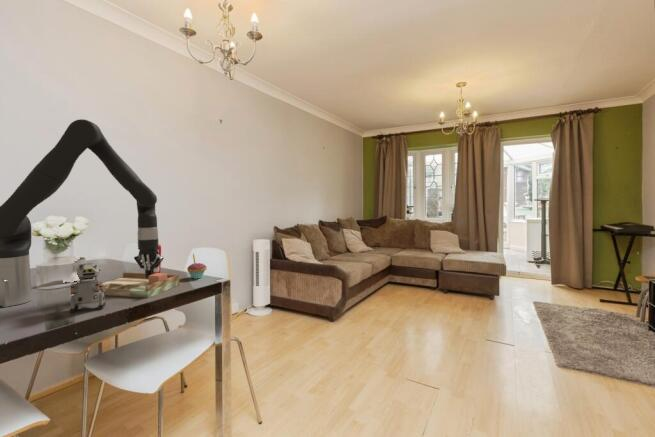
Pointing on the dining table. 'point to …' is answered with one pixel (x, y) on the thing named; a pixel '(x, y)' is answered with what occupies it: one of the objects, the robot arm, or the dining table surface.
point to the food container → (81, 262)
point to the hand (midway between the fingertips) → (149, 278)
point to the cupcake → (196, 269)
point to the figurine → (87, 287)
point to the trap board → (138, 285)
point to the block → (156, 277)
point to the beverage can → (157, 270)
